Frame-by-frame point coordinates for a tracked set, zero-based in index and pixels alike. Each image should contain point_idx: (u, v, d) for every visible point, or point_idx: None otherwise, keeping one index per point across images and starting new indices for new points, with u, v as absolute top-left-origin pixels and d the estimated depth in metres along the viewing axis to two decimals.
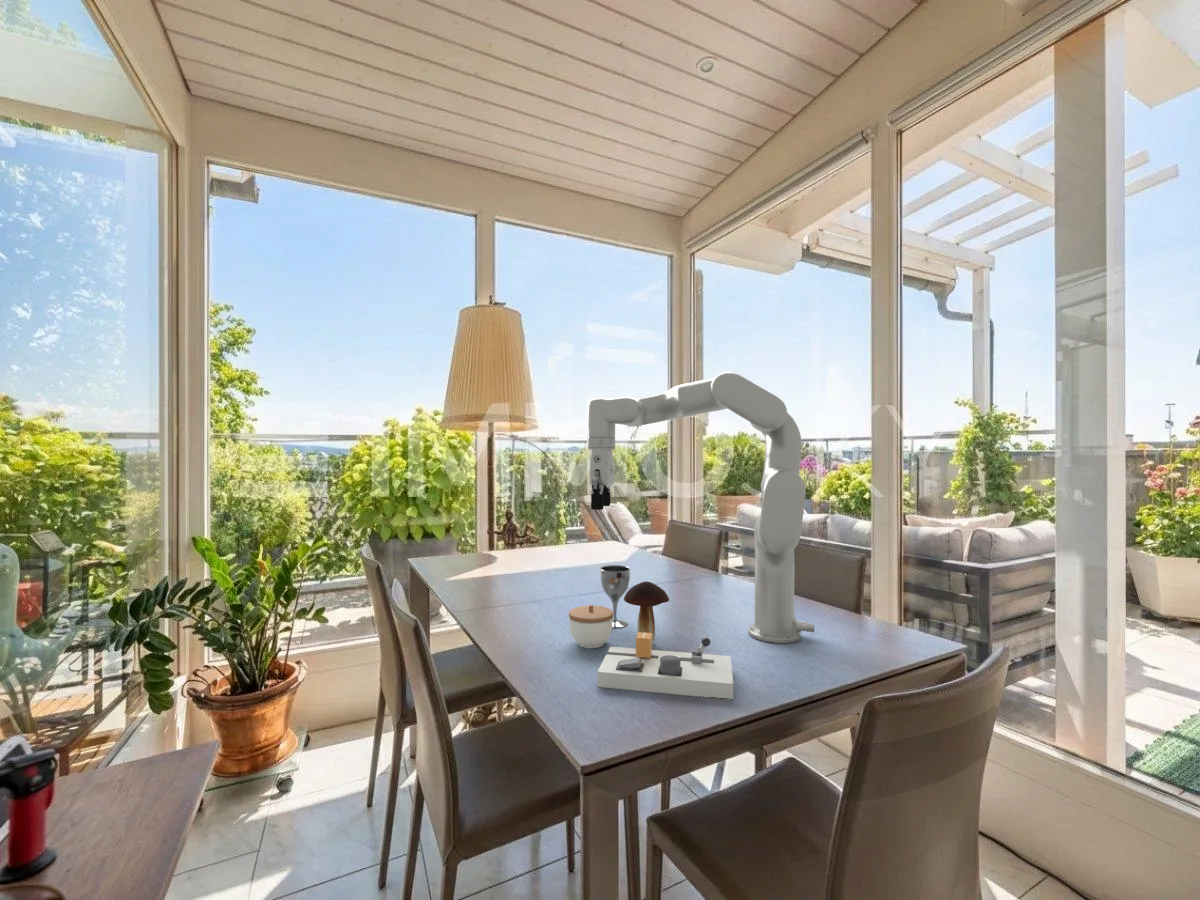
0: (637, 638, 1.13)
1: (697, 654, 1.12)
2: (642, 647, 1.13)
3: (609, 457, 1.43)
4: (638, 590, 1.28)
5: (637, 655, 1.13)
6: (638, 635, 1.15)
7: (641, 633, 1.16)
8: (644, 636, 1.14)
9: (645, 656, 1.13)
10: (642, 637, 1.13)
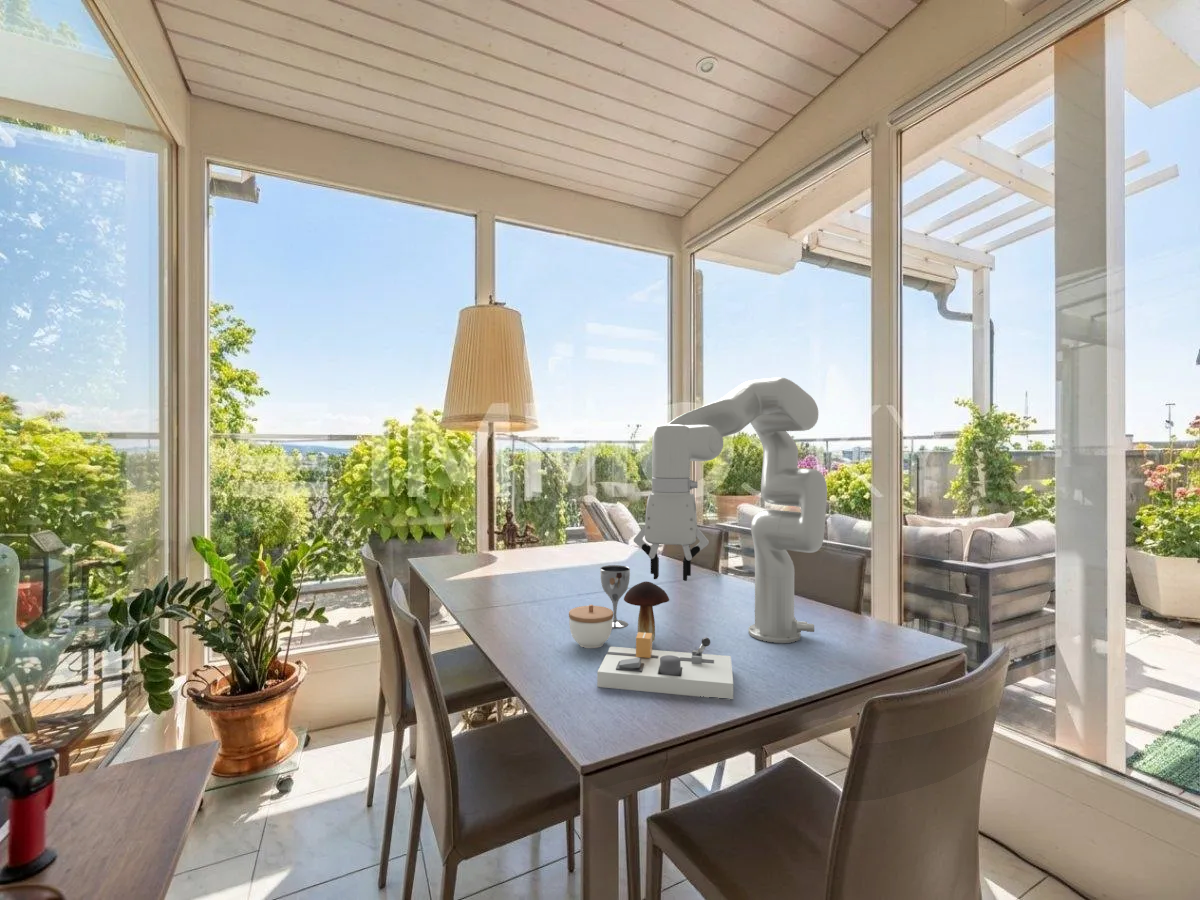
0: (637, 638, 1.13)
1: (697, 654, 1.12)
2: (642, 647, 1.13)
3: None
4: (638, 590, 1.28)
5: (637, 655, 1.13)
6: (638, 635, 1.15)
7: (641, 633, 1.16)
8: (644, 636, 1.14)
9: (645, 656, 1.13)
10: (642, 637, 1.13)
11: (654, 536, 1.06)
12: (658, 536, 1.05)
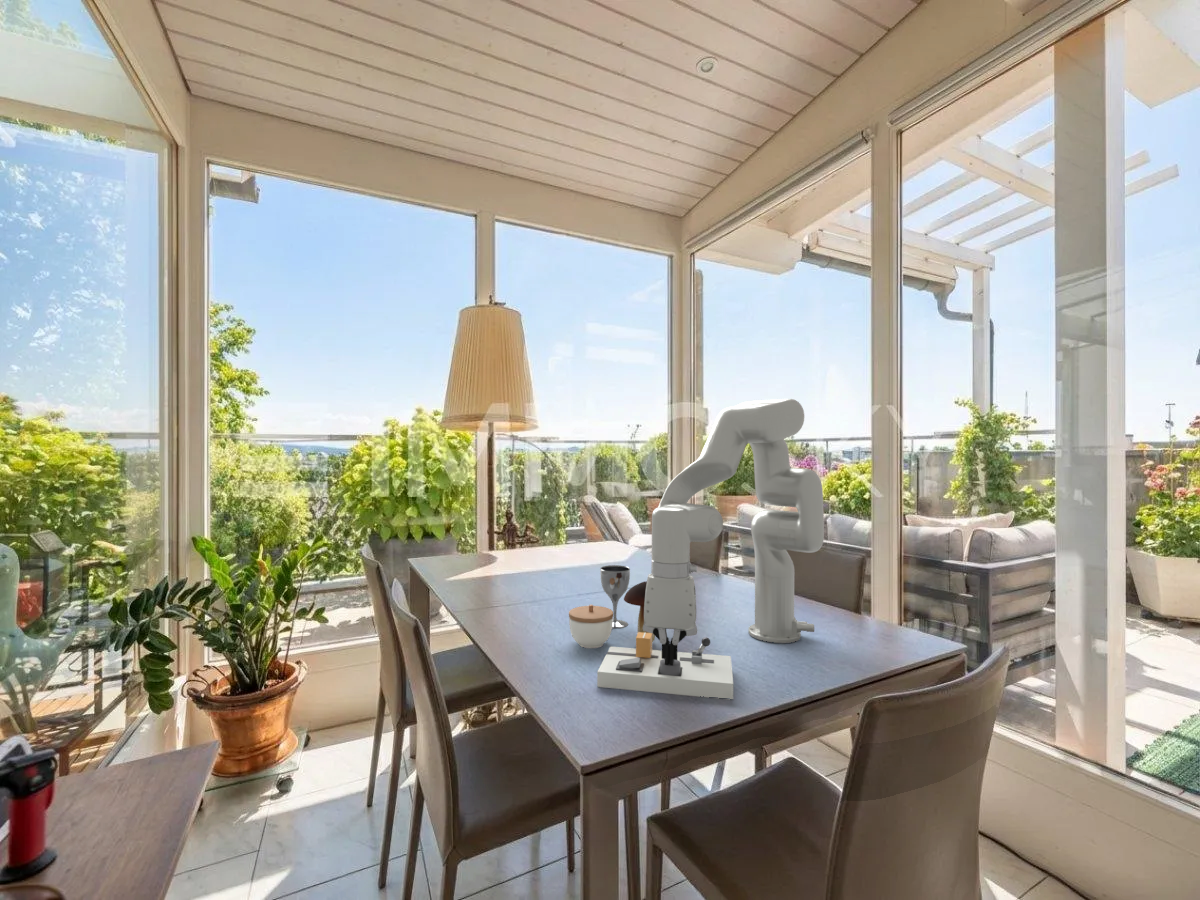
0: (637, 638, 1.13)
1: (697, 654, 1.12)
2: (642, 647, 1.13)
3: None
4: (638, 590, 1.28)
5: (637, 655, 1.13)
6: (638, 635, 1.15)
7: (641, 633, 1.16)
8: (644, 636, 1.14)
9: (645, 656, 1.13)
10: (642, 637, 1.13)
11: (653, 620, 1.05)
12: (657, 620, 1.05)
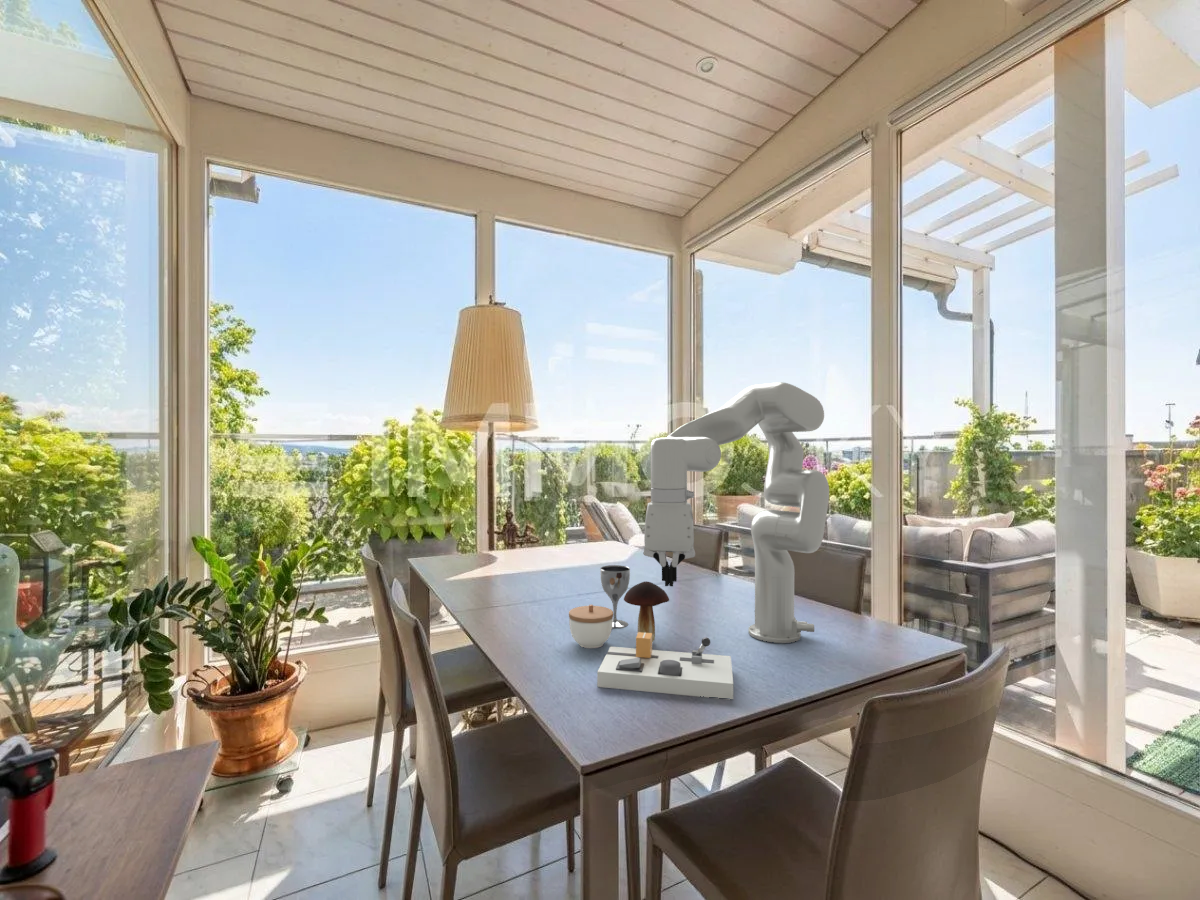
0: (637, 638, 1.13)
1: (697, 654, 1.12)
2: (642, 647, 1.13)
3: None
4: (638, 590, 1.28)
5: (637, 655, 1.13)
6: (638, 635, 1.15)
7: (641, 633, 1.16)
8: (644, 636, 1.14)
9: (645, 656, 1.13)
10: (642, 637, 1.13)
11: (653, 544, 1.11)
12: (657, 544, 1.11)
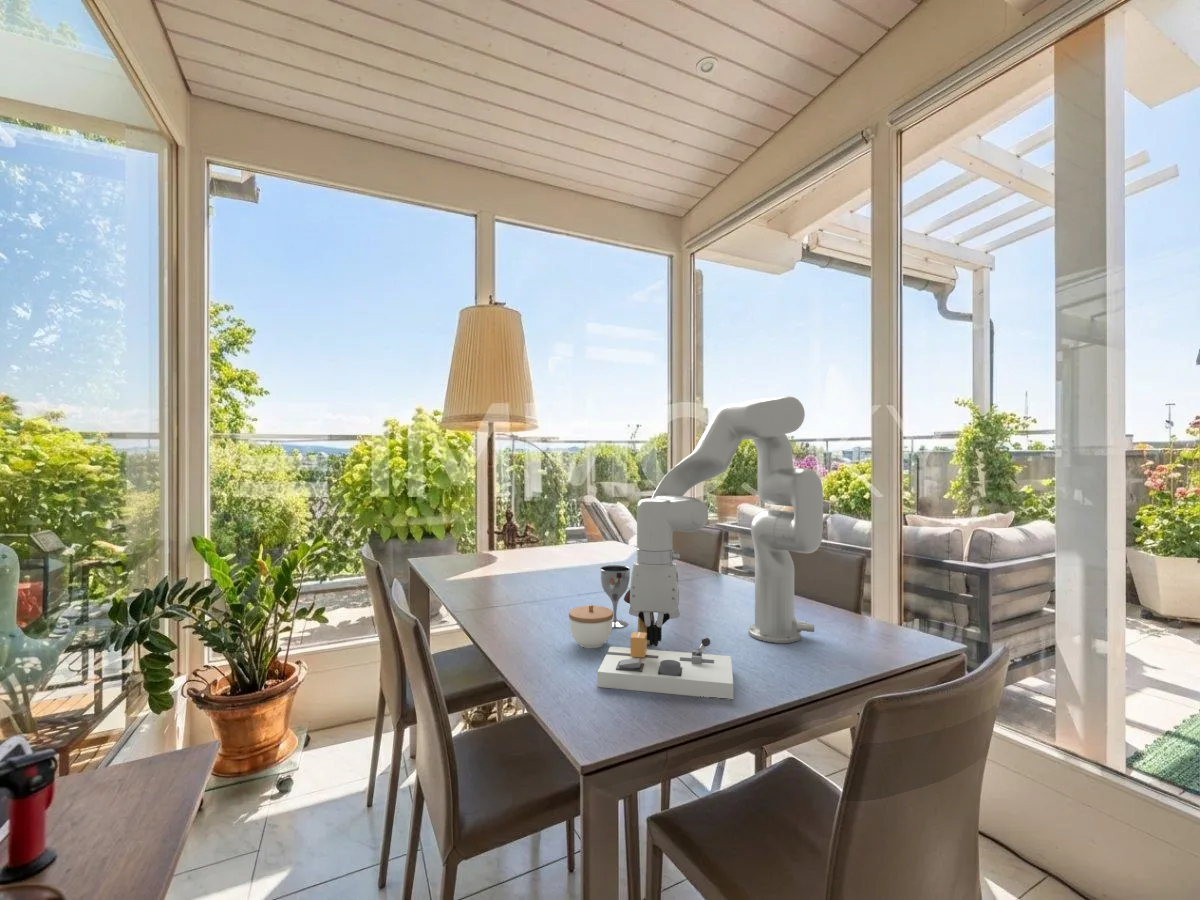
0: (632, 638, 1.13)
1: (697, 654, 1.12)
2: (636, 646, 1.13)
3: None
4: None
5: (632, 655, 1.13)
6: (633, 635, 1.15)
7: (636, 633, 1.16)
8: (639, 636, 1.14)
9: (639, 656, 1.13)
10: (637, 636, 1.14)
11: (638, 604, 1.13)
12: (642, 604, 1.12)
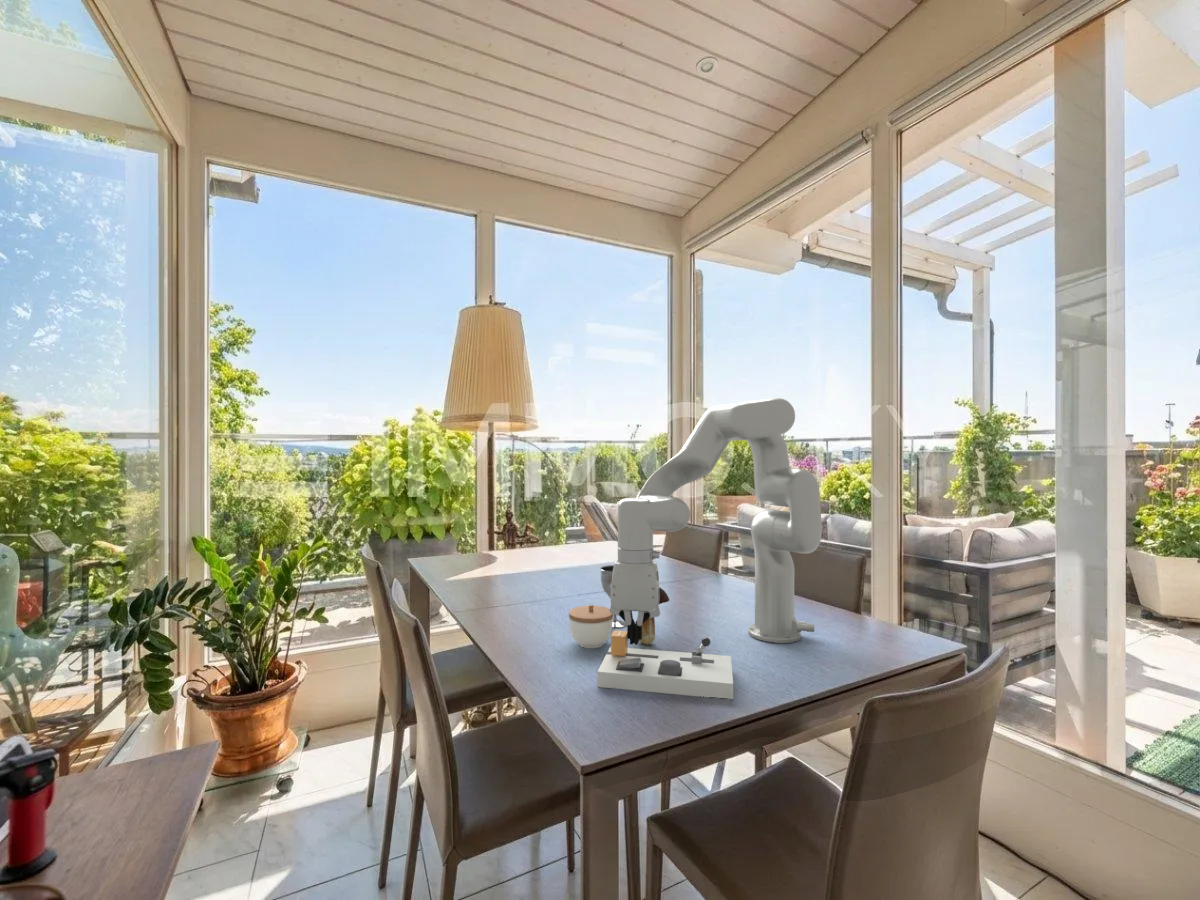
0: (612, 636, 1.14)
1: (697, 654, 1.12)
2: (617, 645, 1.14)
3: None
4: None
5: (612, 653, 1.14)
6: (613, 633, 1.16)
7: (617, 631, 1.17)
8: (620, 635, 1.15)
9: (620, 654, 1.14)
10: (617, 635, 1.14)
11: (619, 603, 1.13)
12: (622, 603, 1.13)
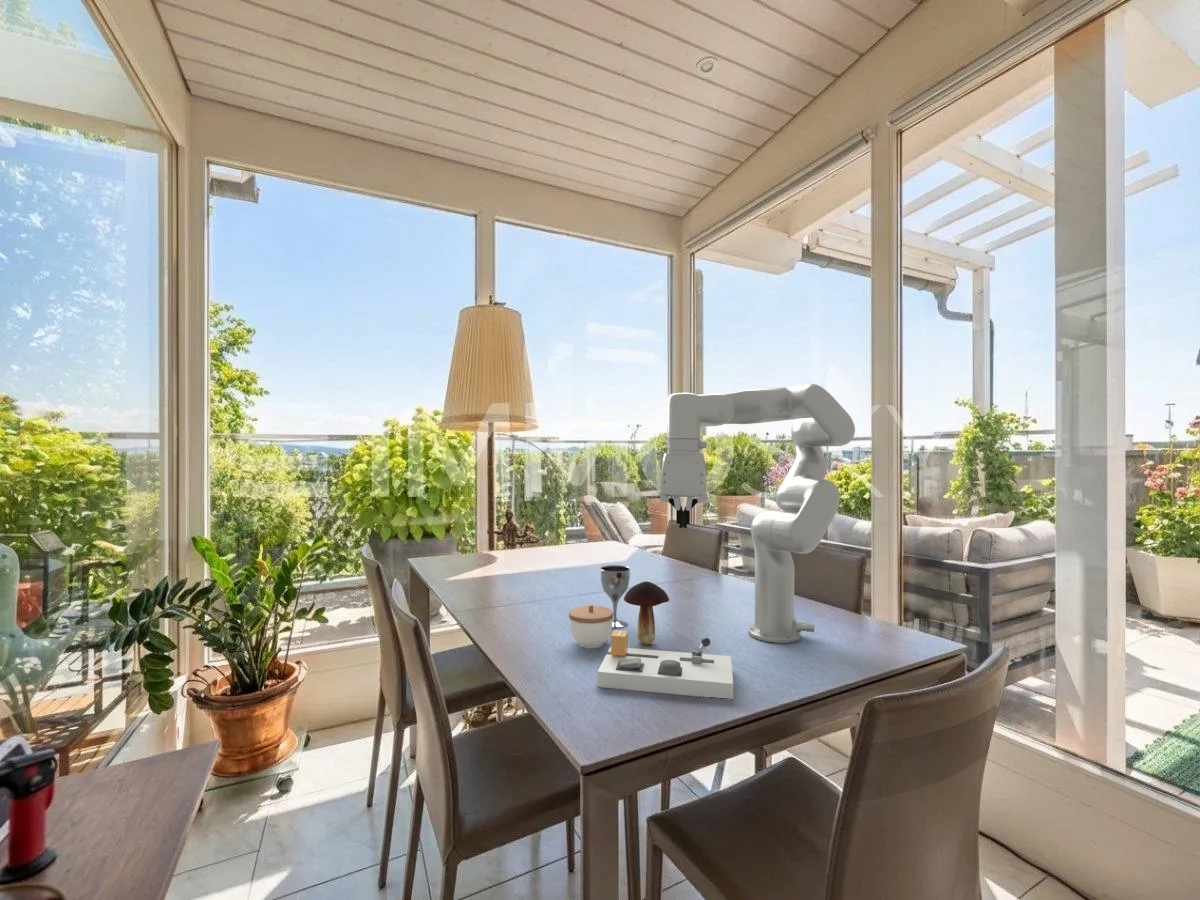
0: (612, 636, 1.14)
1: (697, 654, 1.12)
2: (617, 645, 1.14)
3: None
4: (638, 590, 1.28)
5: (612, 653, 1.14)
6: (613, 633, 1.16)
7: (617, 631, 1.17)
8: (620, 635, 1.15)
9: (620, 654, 1.14)
10: (617, 635, 1.14)
11: (669, 489, 1.22)
12: (672, 489, 1.22)
